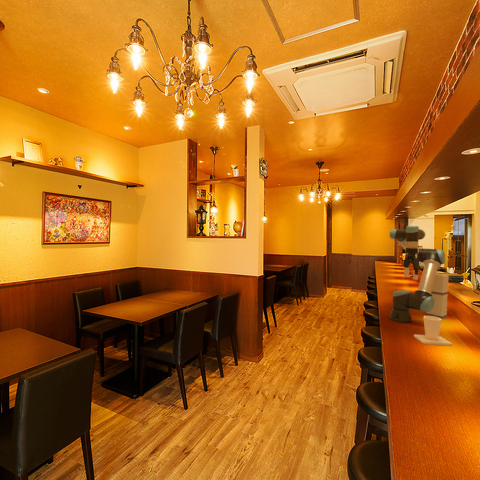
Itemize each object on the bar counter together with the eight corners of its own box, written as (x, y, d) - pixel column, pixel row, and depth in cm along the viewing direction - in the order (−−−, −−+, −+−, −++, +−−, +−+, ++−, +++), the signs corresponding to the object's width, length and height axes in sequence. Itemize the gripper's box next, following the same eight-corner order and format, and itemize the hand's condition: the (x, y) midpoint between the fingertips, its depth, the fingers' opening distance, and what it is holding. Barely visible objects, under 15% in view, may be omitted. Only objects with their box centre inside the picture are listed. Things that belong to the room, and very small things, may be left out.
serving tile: (413, 336, 177) (413, 334, 177) (440, 338, 175) (440, 336, 175) (423, 343, 165) (423, 341, 165) (452, 346, 163) (452, 343, 163)
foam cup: (444, 342, 165) (444, 320, 165) (427, 340, 167) (427, 319, 167) (436, 336, 174) (436, 316, 174) (420, 335, 176) (420, 315, 176)
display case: (447, 317, 224) (448, 275, 223) (441, 319, 218) (443, 276, 217) (431, 313, 233) (432, 273, 233) (425, 315, 227) (427, 274, 227)
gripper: (398, 247, 202) (397, 275, 203) (414, 248, 178) (413, 280, 178) (409, 247, 201) (408, 275, 202) (427, 248, 177) (425, 281, 177)
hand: (410, 278), depth 190 cm, fingers open, 13 cm apart
